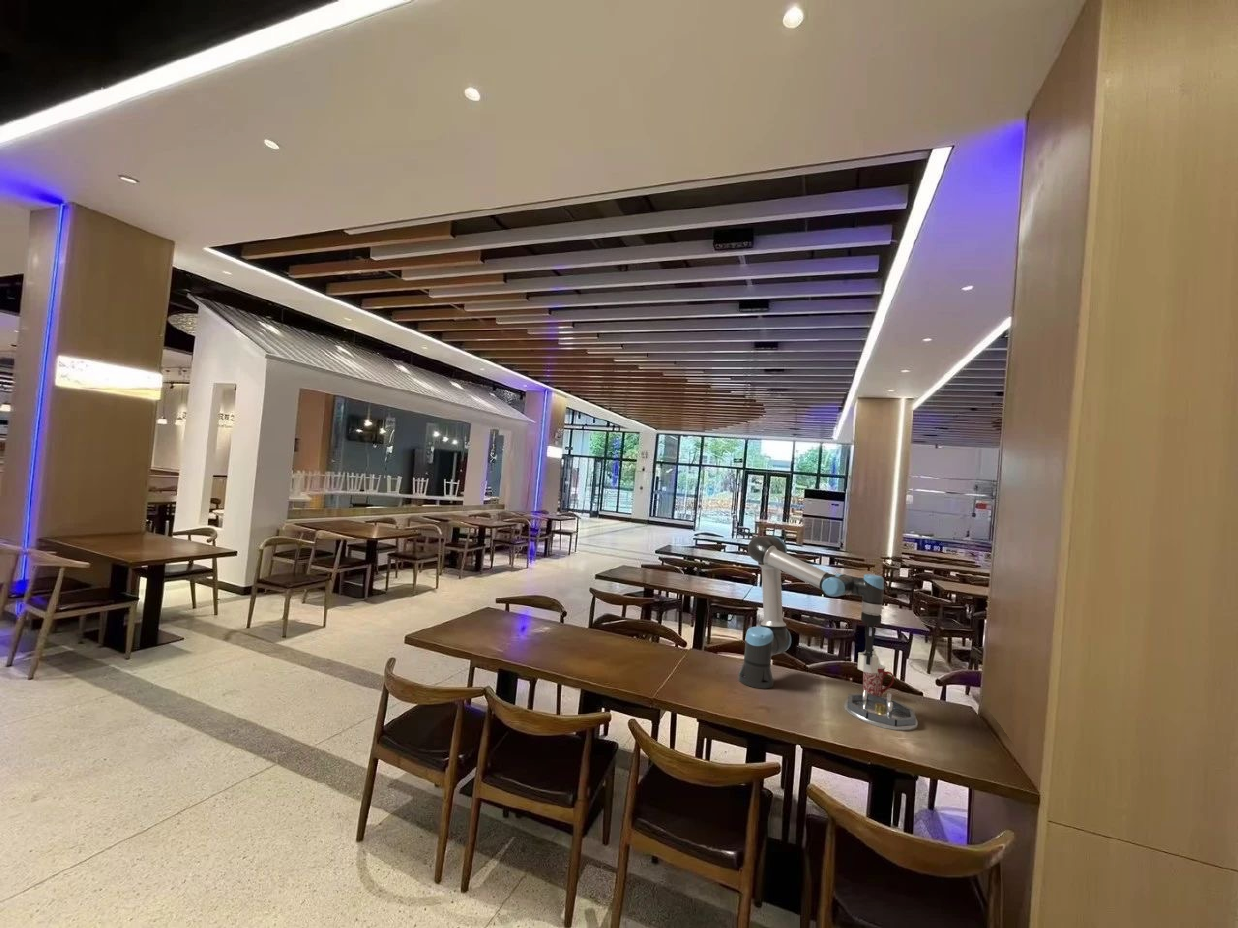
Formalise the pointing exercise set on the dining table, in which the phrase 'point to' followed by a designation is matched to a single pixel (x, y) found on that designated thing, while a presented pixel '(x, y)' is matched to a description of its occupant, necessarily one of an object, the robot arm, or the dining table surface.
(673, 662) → the dining table surface
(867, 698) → the tray
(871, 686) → the mug
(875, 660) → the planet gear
